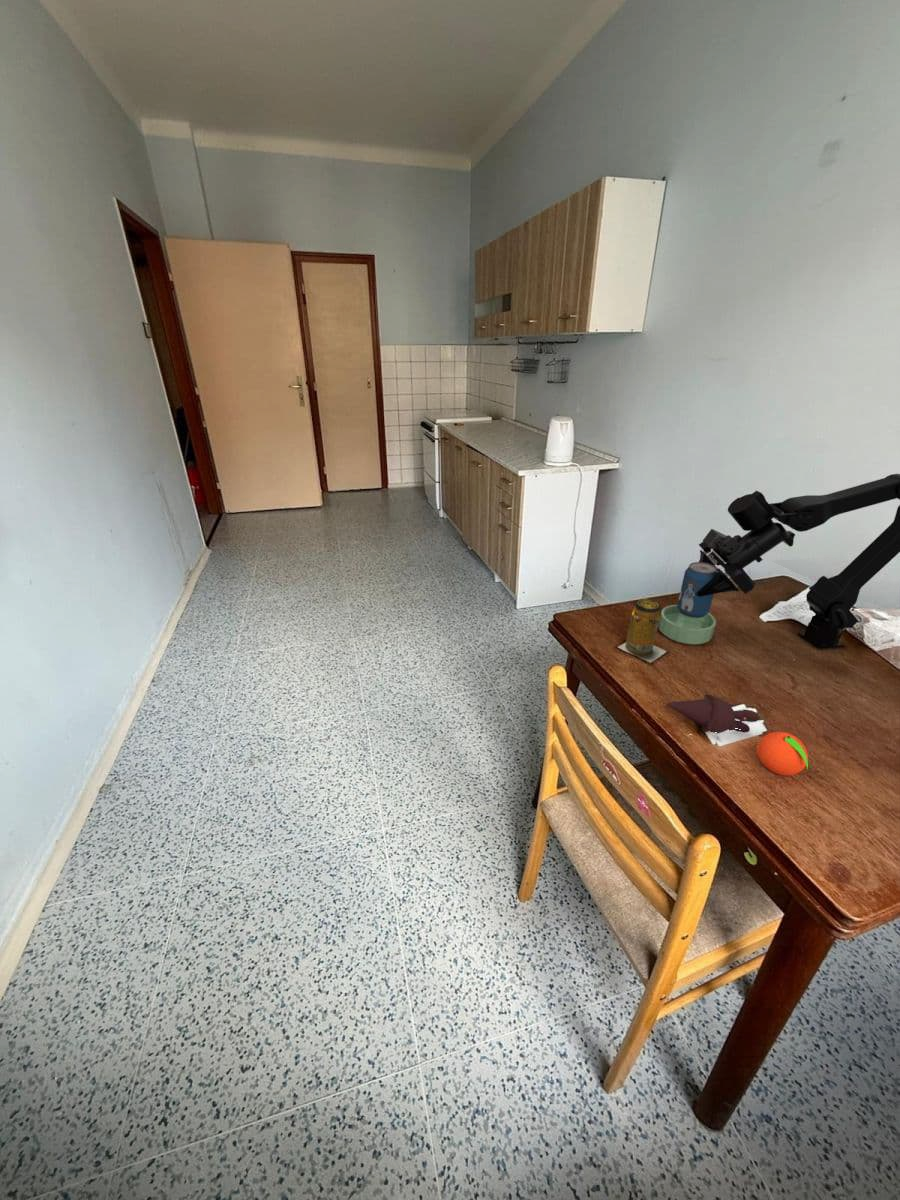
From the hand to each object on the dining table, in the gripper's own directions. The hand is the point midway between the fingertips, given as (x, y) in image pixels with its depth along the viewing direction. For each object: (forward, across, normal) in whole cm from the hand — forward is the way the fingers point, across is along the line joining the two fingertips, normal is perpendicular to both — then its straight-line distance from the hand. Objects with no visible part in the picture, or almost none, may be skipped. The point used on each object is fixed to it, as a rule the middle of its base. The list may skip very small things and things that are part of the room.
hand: (691, 587), depth 110 cm
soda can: (+4, 0, +6) cm, 7 cm away
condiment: (+17, +7, +2) cm, 19 cm away
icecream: (+14, +32, +5) cm, 36 cm away
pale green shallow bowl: (+8, -2, +10) cm, 13 cm away
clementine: (+8, +42, +11) cm, 44 cm away
